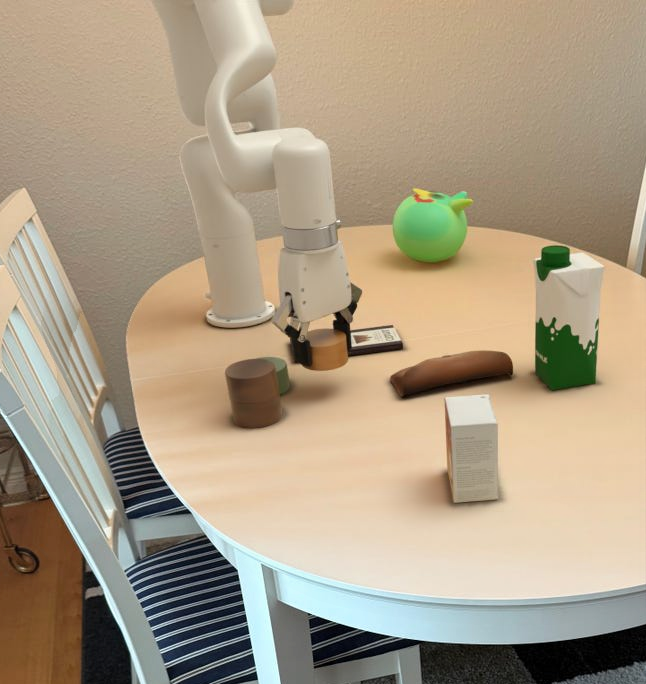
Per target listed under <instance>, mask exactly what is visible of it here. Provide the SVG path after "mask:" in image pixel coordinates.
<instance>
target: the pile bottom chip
mask: <svg viewBox="0 0 646 684" xmlns="http://www.w3.org/2000/svg"><path fill="white" fill-rule="evenodd" d="M228 397H229V396H228ZM229 401H230V408H231V414H232V419H233V423H234V424H235V425H237V426H239V427H242V428H247V429H257V428H263V427H268V426H271V425H273V424H276V423H277V422H279V421H280V420H281V419H282V418H283V408H282V402H281V395H279V392H278V394H277V395H276V396H275V397H273V398H271V399H269V400H266V401H263V402H259V403H251V404H244V403H238V402H234V401H233V400H231V399H230V397H229Z"/></svg>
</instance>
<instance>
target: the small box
mask: <svg viewBox="0 0 646 684" xmlns="http://www.w3.org/2000/svg"><path fill="white" fill-rule="evenodd" d="M443 401H444V415H445V416H444V418H445V441H446V442H445V444H446V445H445V447H446V450H445V451H446V468H447V474H448V475H447V476H448V478H449V485H450V490H451V498H452V502H453V503H454V504H459V503H467V502H482V501H494V500H498V499H499V423H498V421H497V420H498V419H497V418H496V414H495V411H494V409H493V408H494V407H493V405H492V401H491V396H490V394H488V393H487V394H486V393H485V394H474V395H473V394H472V395H459V396H445V397H444V399H443Z"/></svg>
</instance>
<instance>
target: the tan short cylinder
mask: <svg viewBox="0 0 646 684" xmlns="http://www.w3.org/2000/svg"><path fill="white" fill-rule="evenodd" d="M306 340H309V341H310V347H311V355H312V366H310V367H307V366H305V365H302V364H301V366H302V367H303V368H304V369H307V370H309V371H315V372H327V371H334V370H336V369H339V368H342V367H344V366H345V365H346V364H347V363H348V362H349V356H348V352H347V342H346V334H345V333H344V332H342V331H340V330H337V329H333V328H327V327H325V328H316V329H312V330H308V332H307V336H306Z"/></svg>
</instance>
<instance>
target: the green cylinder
mask: <svg viewBox="0 0 646 684" xmlns="http://www.w3.org/2000/svg"><path fill="white" fill-rule="evenodd" d="M255 359H265V360H269V361H271V362H273V363H274V364H275V369H276V375H277V382H278V388H279V395H280V396H281V395H283V394H285V393H286V392H288V391H289V390H290V387H291V383H290V375H289V370H288V369H289V368H288V364H287V361H286V360H285V359H283V358H280V357H276V356H262V357H256V358H255Z"/></svg>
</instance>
